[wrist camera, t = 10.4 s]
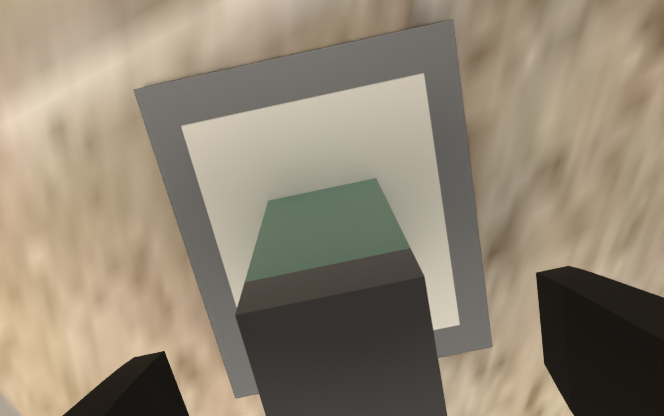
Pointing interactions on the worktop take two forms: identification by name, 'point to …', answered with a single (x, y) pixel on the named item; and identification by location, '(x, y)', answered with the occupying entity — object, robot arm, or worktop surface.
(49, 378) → the worktop surface
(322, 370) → the green and grey block
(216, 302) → the grey picture frame
